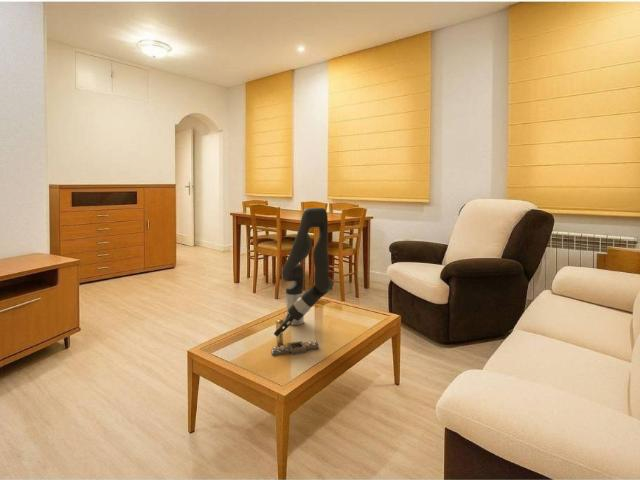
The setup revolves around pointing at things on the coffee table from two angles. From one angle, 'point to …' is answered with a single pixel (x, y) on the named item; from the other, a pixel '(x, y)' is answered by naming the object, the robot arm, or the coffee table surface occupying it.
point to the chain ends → (295, 348)
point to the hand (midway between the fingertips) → (276, 331)
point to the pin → (280, 336)
